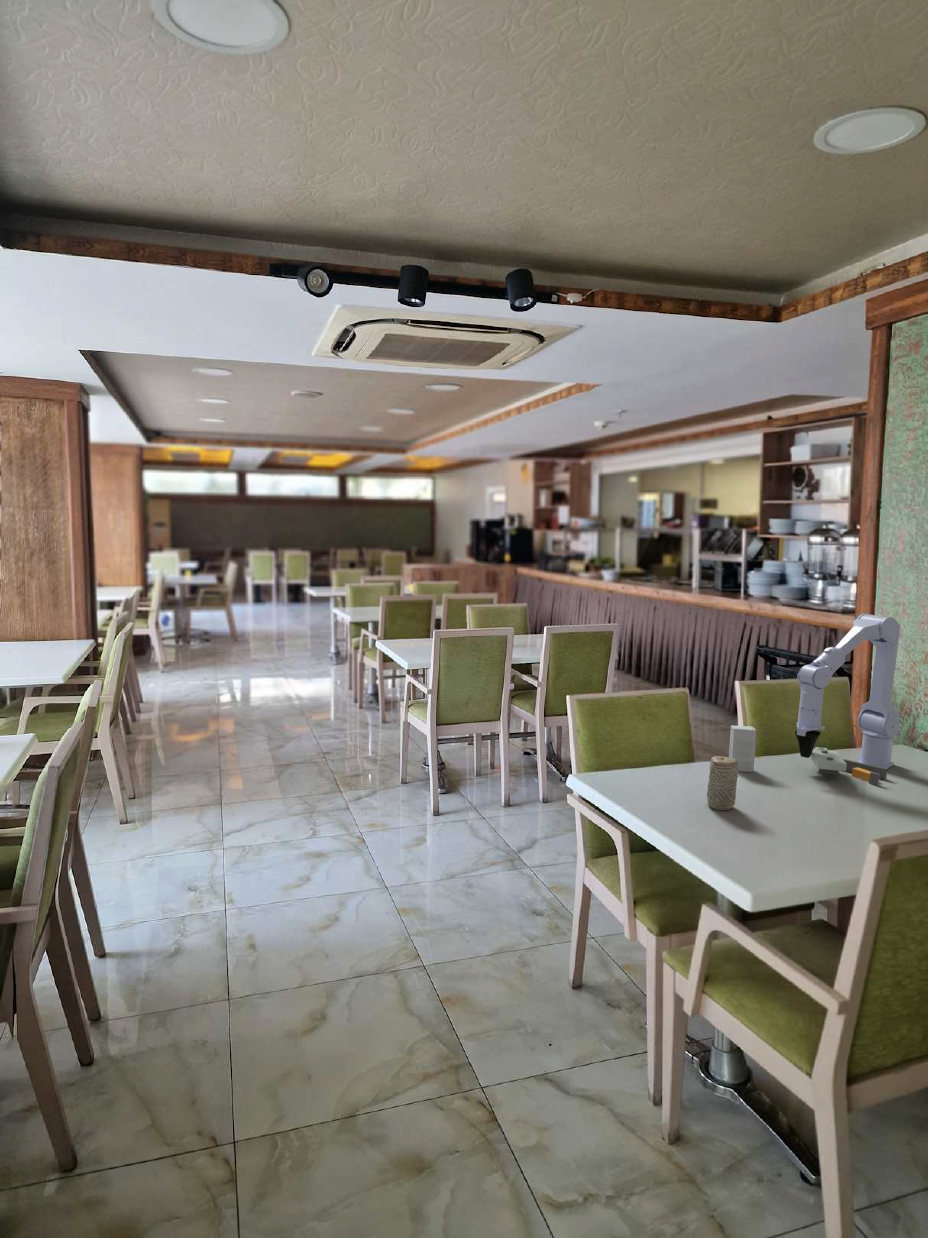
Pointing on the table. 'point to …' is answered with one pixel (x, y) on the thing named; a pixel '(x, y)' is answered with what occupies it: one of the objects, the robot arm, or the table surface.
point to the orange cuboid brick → (861, 773)
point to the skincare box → (743, 747)
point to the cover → (827, 759)
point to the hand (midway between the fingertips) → (805, 756)
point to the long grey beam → (875, 770)
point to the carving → (722, 783)
